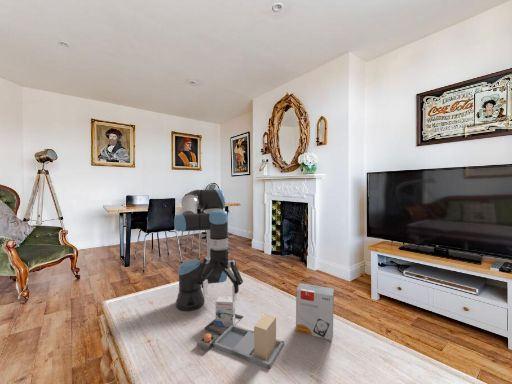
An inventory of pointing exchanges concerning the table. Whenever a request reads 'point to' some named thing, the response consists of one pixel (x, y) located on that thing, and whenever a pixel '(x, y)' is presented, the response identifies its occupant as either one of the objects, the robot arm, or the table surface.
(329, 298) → the hard drive box
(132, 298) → the table surface
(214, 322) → the frame
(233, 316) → the ink box
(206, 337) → the brown egg
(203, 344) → the housing
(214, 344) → the grey rectangular tray
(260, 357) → the billet
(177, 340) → the table surface
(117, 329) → the table surface
